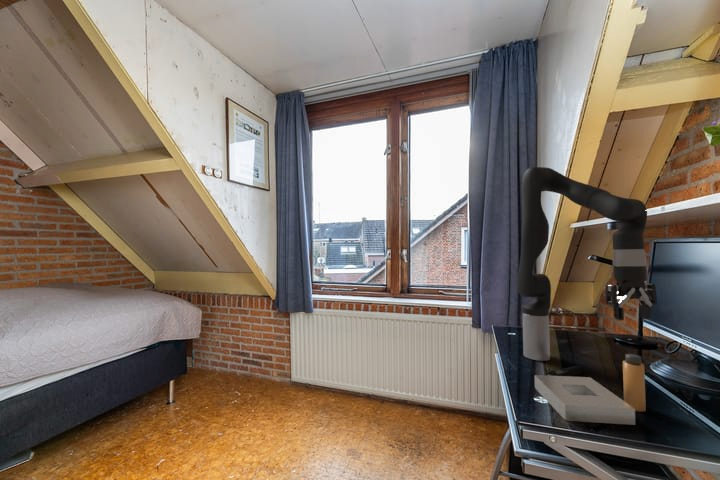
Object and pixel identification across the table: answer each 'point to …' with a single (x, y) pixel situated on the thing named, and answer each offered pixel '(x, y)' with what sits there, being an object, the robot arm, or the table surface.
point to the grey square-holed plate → (584, 400)
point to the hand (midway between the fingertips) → (632, 319)
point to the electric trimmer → (566, 372)
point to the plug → (634, 382)
